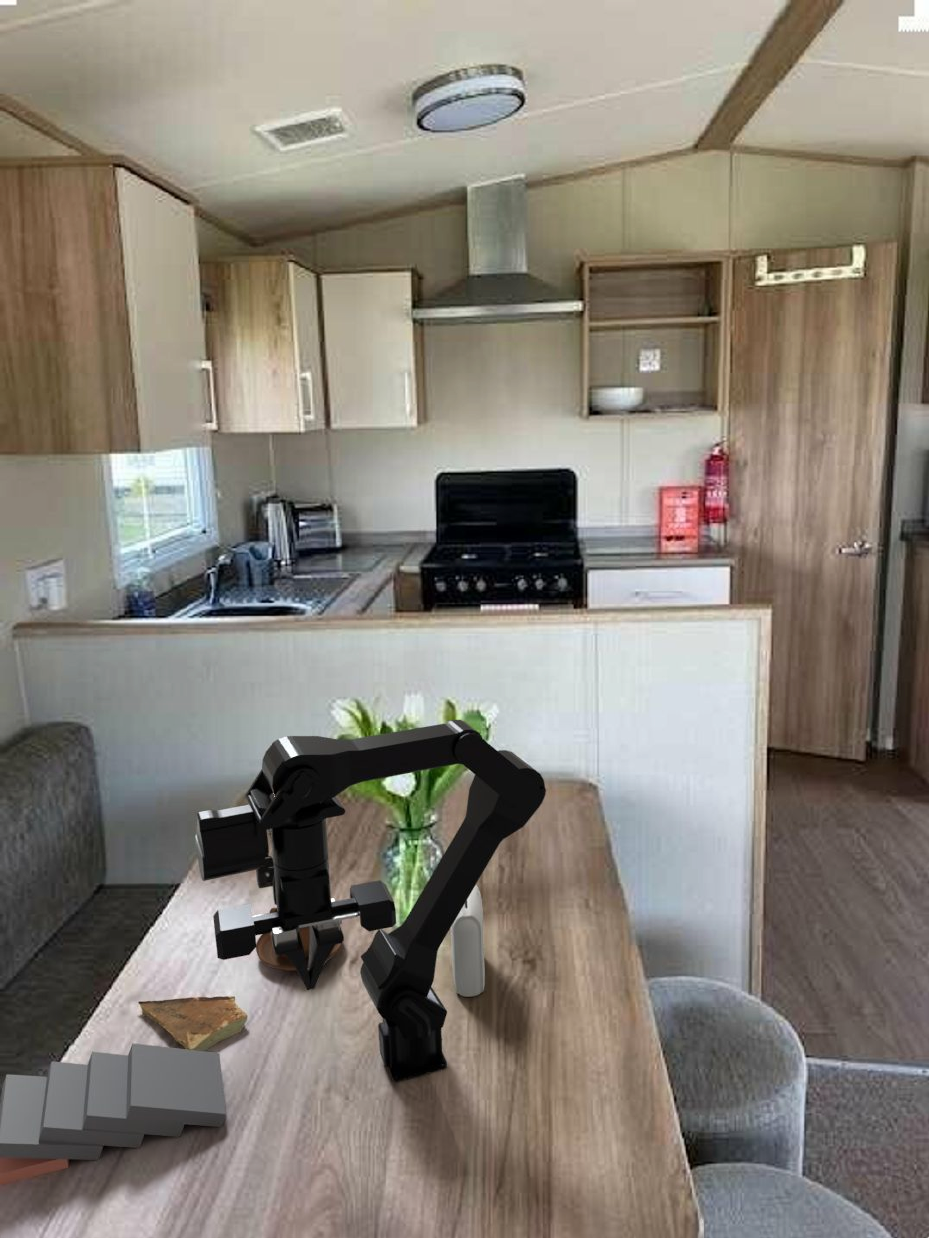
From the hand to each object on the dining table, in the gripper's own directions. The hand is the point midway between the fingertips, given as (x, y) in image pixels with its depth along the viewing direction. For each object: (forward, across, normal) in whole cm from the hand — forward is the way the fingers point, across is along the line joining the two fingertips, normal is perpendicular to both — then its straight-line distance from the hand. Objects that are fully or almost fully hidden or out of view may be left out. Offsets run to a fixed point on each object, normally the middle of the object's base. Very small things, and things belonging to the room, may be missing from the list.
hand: (310, 987), depth 102 cm
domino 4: (+12, +15, -3) cm, 19 cm away
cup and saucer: (+13, -2, -27) cm, 30 cm away
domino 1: (+12, +23, -3) cm, 26 cm away
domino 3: (+12, +19, -3) cm, 23 cm away
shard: (+14, +14, -15) cm, 25 cm away
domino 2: (+13, +26, -3) cm, 29 cm away
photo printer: (+13, -22, -14) cm, 30 cm away
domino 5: (+12, +10, -3) cm, 16 cm away
